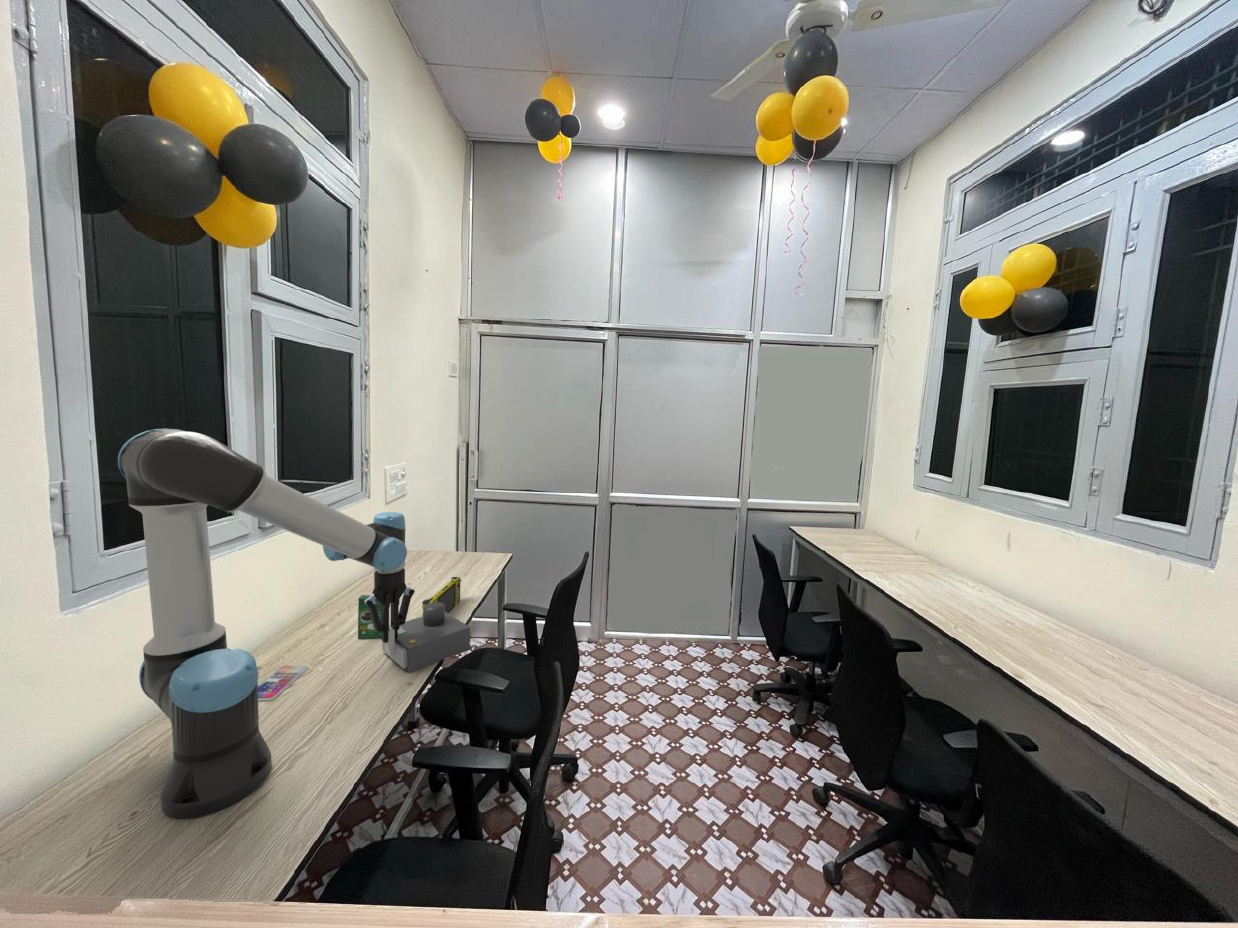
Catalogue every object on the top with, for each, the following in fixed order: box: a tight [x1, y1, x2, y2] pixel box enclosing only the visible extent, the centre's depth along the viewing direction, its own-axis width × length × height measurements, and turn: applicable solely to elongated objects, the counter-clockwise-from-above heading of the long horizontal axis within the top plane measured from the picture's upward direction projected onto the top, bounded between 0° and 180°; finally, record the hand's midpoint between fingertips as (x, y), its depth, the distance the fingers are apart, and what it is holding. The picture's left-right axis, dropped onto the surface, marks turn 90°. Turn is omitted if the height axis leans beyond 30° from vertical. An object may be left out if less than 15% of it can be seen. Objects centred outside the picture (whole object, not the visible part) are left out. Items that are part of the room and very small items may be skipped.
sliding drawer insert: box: [381, 640, 408, 670], centre depth 131 cm, size 17×14×5 cm
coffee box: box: [357, 594, 382, 640], centre depth 138 cm, size 8×3×13 cm, turn 99°
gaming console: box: [421, 576, 462, 614], centre depth 156 cm, size 26×4×10 cm, turn 178°
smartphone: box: [258, 665, 310, 703], centre depth 114 cm, size 7×1×15 cm
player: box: [389, 602, 471, 674], centre depth 132 cm, size 18×16×12 cm
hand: (389, 651), depth 124 cm, fingers closed
